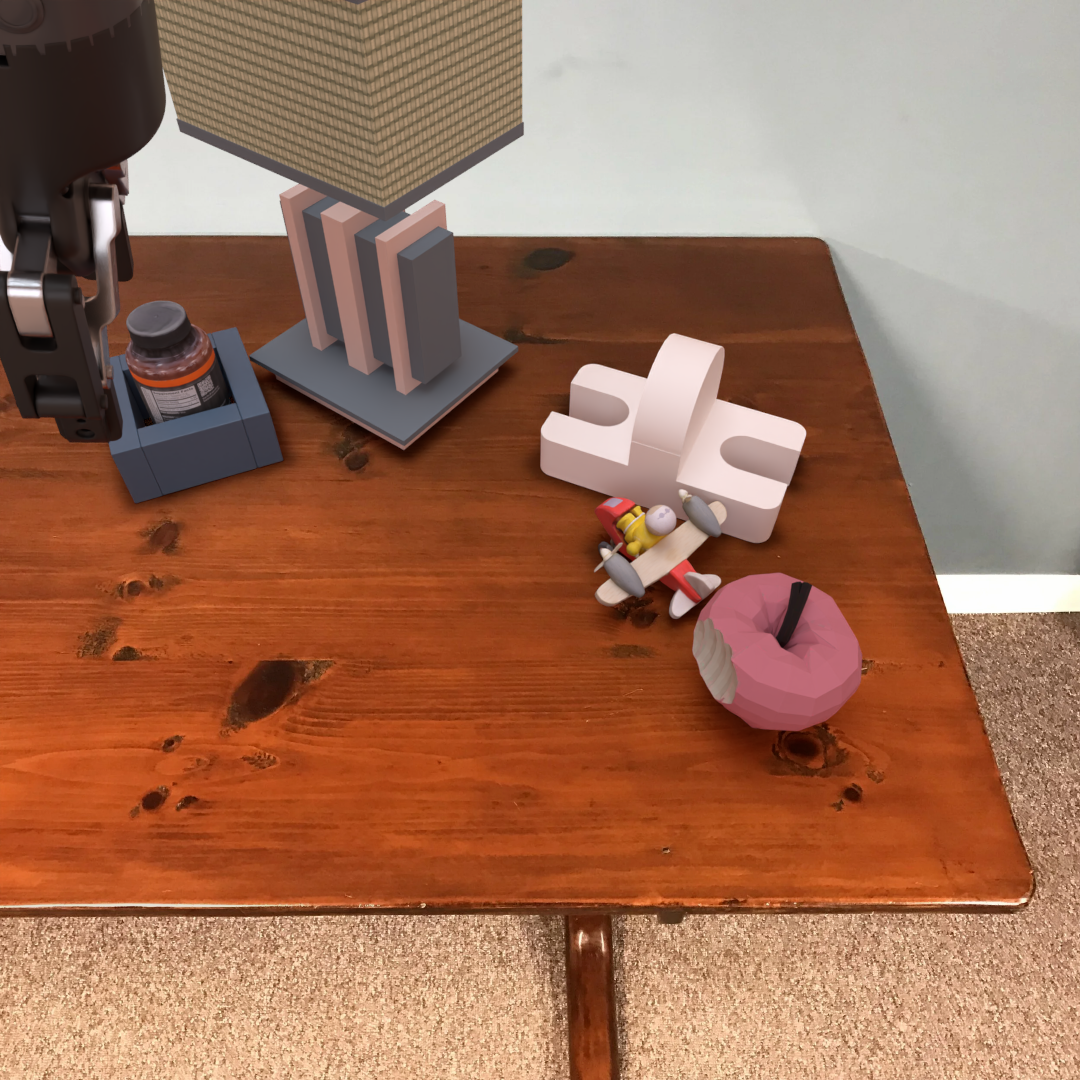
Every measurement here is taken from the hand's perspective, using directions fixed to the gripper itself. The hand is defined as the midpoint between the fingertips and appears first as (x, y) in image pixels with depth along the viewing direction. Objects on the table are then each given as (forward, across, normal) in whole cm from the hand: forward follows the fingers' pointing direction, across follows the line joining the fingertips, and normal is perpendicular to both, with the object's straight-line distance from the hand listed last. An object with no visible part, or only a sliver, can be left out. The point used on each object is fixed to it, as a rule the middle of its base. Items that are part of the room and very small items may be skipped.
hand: (101, 350), depth 37 cm
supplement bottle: (+29, -17, +2) cm, 34 cm away
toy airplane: (+19, +2, +32) cm, 37 cm away
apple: (+16, +12, +35) cm, 41 cm away
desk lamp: (+28, -22, +16) cm, 39 cm away
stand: (+29, -17, +1) cm, 34 cm away
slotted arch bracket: (+21, -8, +36) cm, 42 cm away
